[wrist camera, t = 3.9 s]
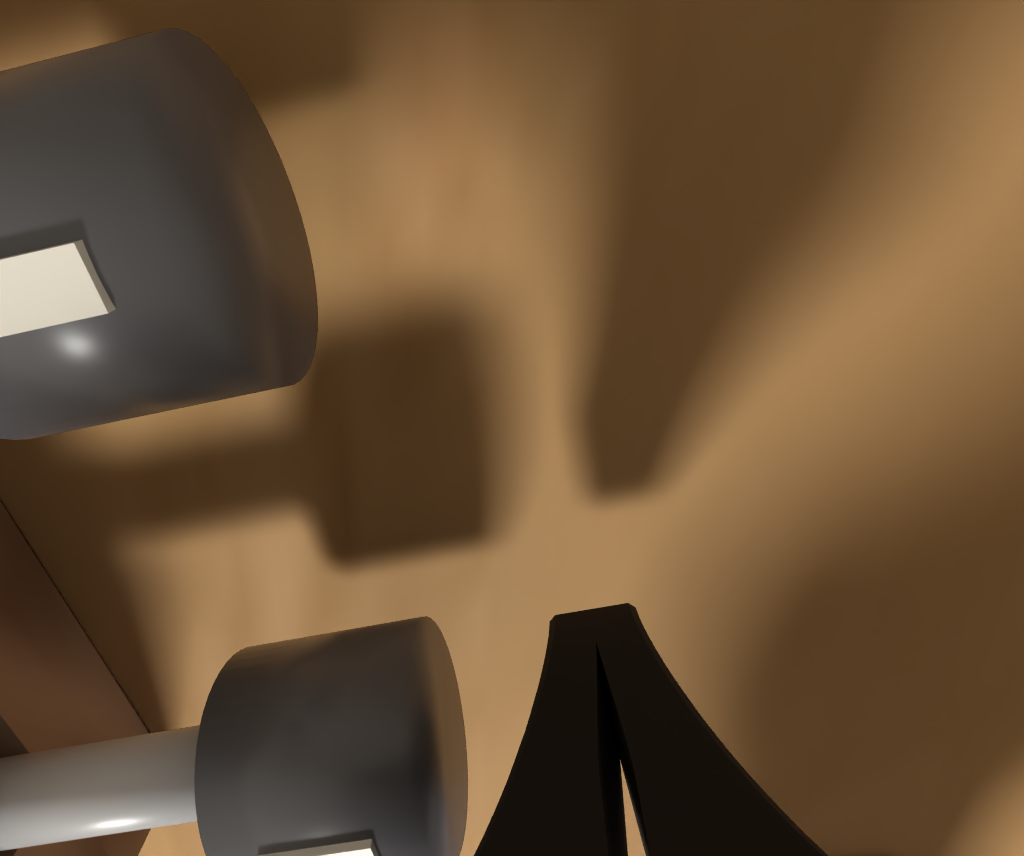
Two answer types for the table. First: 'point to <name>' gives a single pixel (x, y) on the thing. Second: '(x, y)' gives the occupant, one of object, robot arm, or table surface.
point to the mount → (53, 683)
